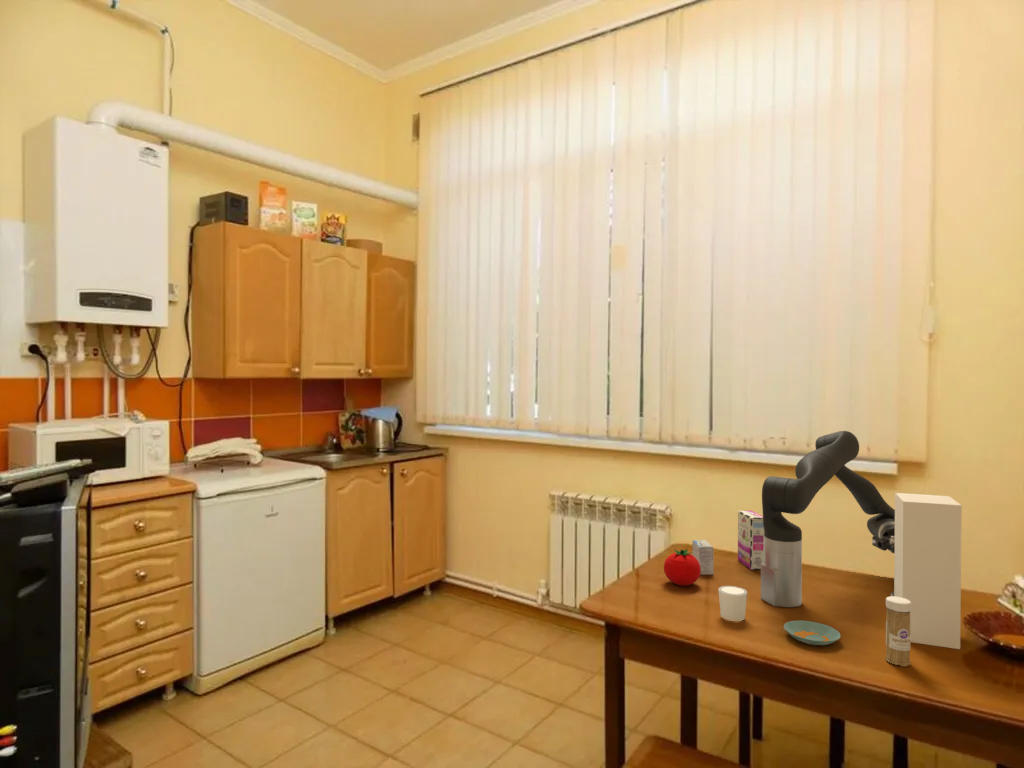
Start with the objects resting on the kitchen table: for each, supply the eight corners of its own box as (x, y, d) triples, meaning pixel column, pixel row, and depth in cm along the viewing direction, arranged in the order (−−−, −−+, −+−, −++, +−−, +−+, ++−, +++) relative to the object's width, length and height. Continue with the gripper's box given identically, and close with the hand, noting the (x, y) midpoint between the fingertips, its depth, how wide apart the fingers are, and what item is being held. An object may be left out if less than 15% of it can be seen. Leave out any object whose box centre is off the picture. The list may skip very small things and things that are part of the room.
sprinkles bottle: (897, 668, 128) (897, 604, 128) (880, 658, 133) (880, 596, 132) (916, 666, 129) (916, 602, 129) (898, 656, 134) (898, 594, 133)
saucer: (791, 625, 151) (791, 615, 151) (845, 638, 143) (845, 628, 143) (777, 641, 142) (777, 631, 142) (833, 656, 134) (833, 645, 134)
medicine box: (713, 575, 188) (713, 546, 187) (699, 575, 188) (699, 546, 188) (706, 567, 195) (706, 539, 195) (692, 567, 196) (692, 539, 195)
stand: (960, 649, 137) (961, 505, 136) (902, 640, 141) (903, 501, 141) (947, 630, 147) (949, 496, 146) (894, 622, 151) (894, 492, 151)
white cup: (717, 621, 153) (717, 592, 153) (718, 610, 159) (718, 583, 159) (747, 624, 151) (747, 596, 151) (746, 614, 157) (747, 587, 157)
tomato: (657, 585, 179) (657, 550, 179) (673, 576, 187) (673, 543, 187) (691, 593, 172) (691, 557, 172) (706, 583, 180) (707, 549, 180)
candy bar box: (766, 570, 192) (766, 517, 191) (750, 570, 192) (750, 518, 191) (752, 559, 203) (752, 509, 202) (737, 559, 203) (737, 510, 202)
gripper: (867, 521, 186) (875, 535, 170) (922, 526, 181) (936, 541, 165) (867, 546, 186) (875, 562, 171) (922, 551, 181) (935, 569, 165)
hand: (905, 552), depth 168 cm, fingers open, 3 cm apart
